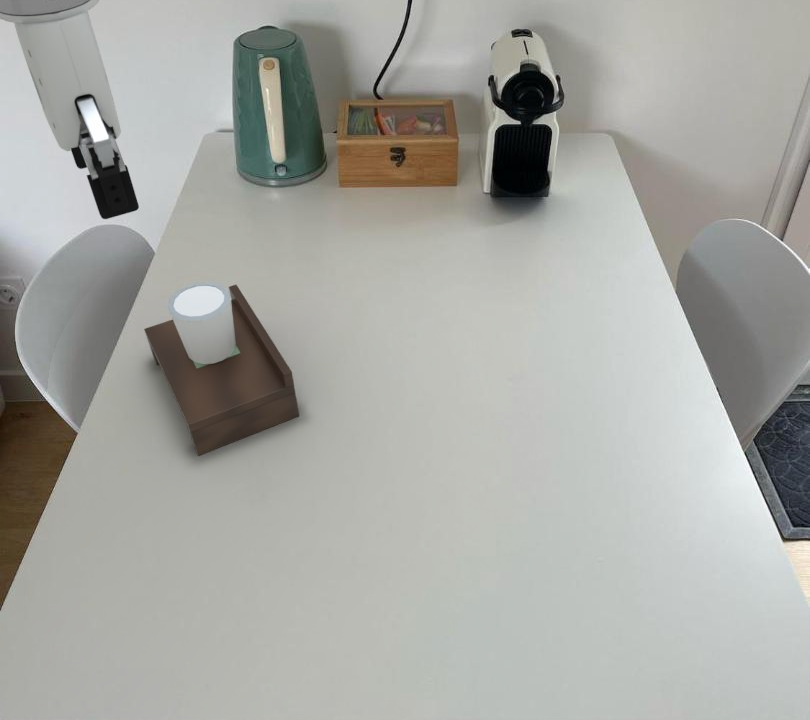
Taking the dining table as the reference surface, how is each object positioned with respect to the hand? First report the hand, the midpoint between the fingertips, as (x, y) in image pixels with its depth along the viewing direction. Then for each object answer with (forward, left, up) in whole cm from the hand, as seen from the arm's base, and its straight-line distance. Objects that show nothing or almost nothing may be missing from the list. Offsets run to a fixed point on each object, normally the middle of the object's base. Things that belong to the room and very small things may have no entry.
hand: (107, 187), depth 72 cm
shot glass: (+6, +5, -25) cm, 26 cm away
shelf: (+6, +3, -30) cm, 31 cm away
